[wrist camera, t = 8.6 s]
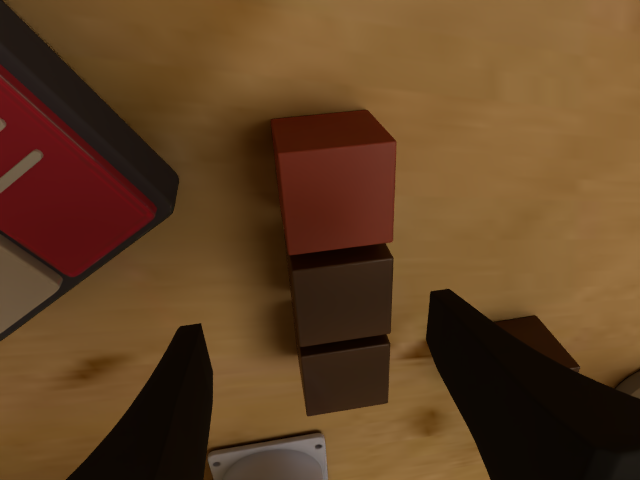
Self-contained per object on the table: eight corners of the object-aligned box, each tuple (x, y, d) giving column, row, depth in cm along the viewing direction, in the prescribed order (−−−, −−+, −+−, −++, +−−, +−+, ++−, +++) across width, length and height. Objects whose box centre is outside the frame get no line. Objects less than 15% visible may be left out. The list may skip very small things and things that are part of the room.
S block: (369, 197, 22) (395, 242, 19) (280, 207, 22) (288, 256, 18) (370, 109, 20) (399, 140, 16) (270, 118, 20) (277, 153, 16)
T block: (370, 280, 25) (393, 334, 21) (290, 291, 25) (299, 348, 21) (370, 210, 23) (396, 257, 19) (282, 221, 22) (291, 271, 19)
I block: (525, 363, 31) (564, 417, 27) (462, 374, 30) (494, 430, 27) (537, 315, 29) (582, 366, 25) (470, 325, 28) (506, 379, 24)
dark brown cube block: (369, 345, 28) (390, 403, 24) (297, 356, 27) (307, 417, 24) (370, 288, 25) (392, 343, 22) (291, 299, 25) (300, 357, 21)
